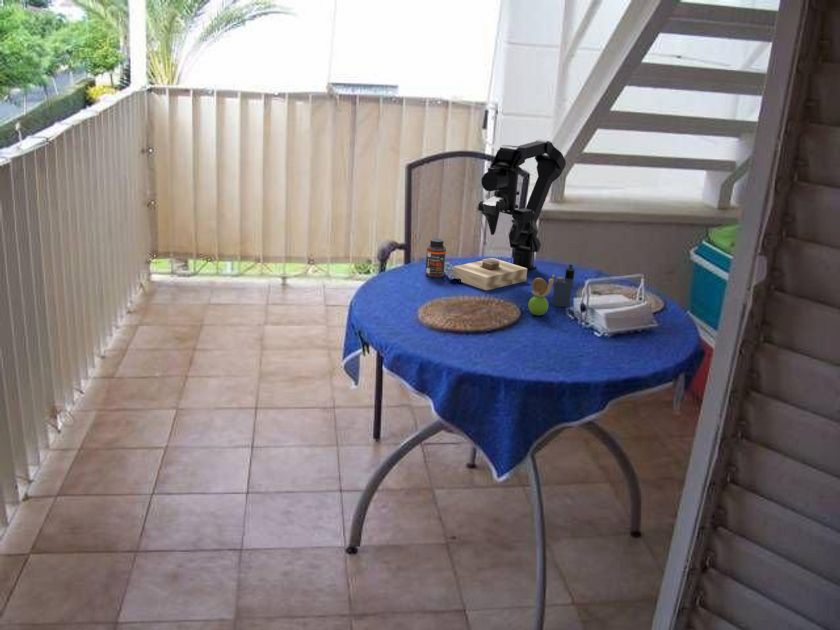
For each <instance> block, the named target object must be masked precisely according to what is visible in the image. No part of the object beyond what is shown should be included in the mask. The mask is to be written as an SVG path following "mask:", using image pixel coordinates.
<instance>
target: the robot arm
mask: <svg viewBox="0 0 840 630" xmlns="http://www.w3.org/2000/svg"><path fill="white" fill-rule="evenodd" d="M531 158H534V160H535V162H536V163H537V165H536V171H537V178H536V181H535V183H534V186H533V189H532V192H531V194H530V196H529V199H528V202H527V204H526V205H525V206H526V207H525V208H524V207H523V208H519V204H516V203H517V196H520V191H519V190H518V182H519V173H522V172H523V169H522V168H521V167H520V166H522V165H524V163H525V162H526V160H529V159H531ZM566 164H567V161H566V159H565V157H564V155H563V153H562V152H561V151H560V150H559V149H557V147H555V146H554V144H553V143H552V142H551V141H550V140H543V139H537V140H535V141H531V142H528V143H524V144H520V145H508V144H507V145H506V144H502V145H500V146H499V149H498V150H497V151H496V154H495V155H494V158H493V160H492V162H491V164H490V167H488V168H487V172H485V173H484V174H483V176H481V180H480V181H481V186H482V188H483V189H484V191H487V192H493V193H494V194H493V196H492V197H489V198H487V199H486V200H481V201H479V203H478V207H477V211H479V212H480V214H482V215H483V216H484V217H485V218H486V221H487V224H488V227H489V231H490V235H491V236H494V235H495V233H496V230H497V227H498V222H499V217H500V213H502V214H507V215H510V216H511V217H512V219H511V223H512V226H511V227H510V229H509V233H508V239H509V241H508V242H509V247H510V248H511V249H514V254H513V261H512V262H513V263H512V264H514V265H518V266H521V267H524V268H527V271H528V270H529V271H530V270H534V269H537V268H538V267H537V265H534V259H535V253H538V252H539V251H540V249H541V246H542V243H541V241H540V240H539V237H538V234H539V229H538V224H537V223H538V220H539V218H540V216H541V215H540V214H541V212H542V210H543V207H544V204H545V202H546V200H547V198H548V197H547V196H548V194H549V191H550V189H551V187H552V185H553V182H555V181H556V180H557V179H558V178H560V177H561V175H562V172H563V171H564V170H565V168H566V166H567V165H566Z"/></svg>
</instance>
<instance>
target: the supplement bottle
mask: <svg viewBox="0 0 840 630" xmlns="http://www.w3.org/2000/svg"><path fill="white" fill-rule="evenodd" d="M425 254H426V258H425V259H426V260H425V270H424V271H425V275H426V276H427V277H430V278H443V277H444V276H445V269H446V257H447V256H446V254H447V248H446V247H445V246H444V239H442V238H431V239H430V243H429V245H428V246H427V247H426V253H425Z"/></svg>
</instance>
